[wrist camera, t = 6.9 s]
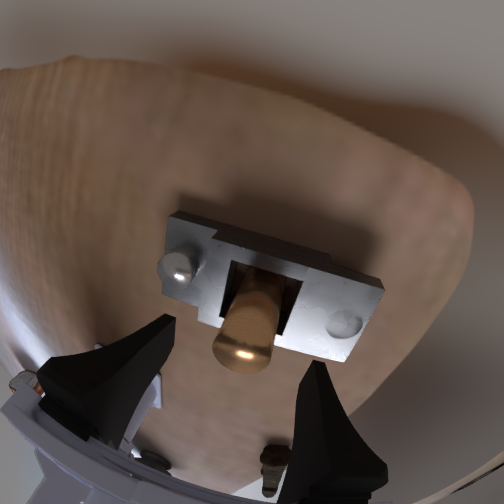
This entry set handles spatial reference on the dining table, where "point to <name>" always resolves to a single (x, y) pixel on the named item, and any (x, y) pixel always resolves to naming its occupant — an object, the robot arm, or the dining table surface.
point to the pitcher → (153, 462)
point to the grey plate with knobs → (274, 260)
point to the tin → (28, 378)
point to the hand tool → (273, 467)
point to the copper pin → (251, 323)
